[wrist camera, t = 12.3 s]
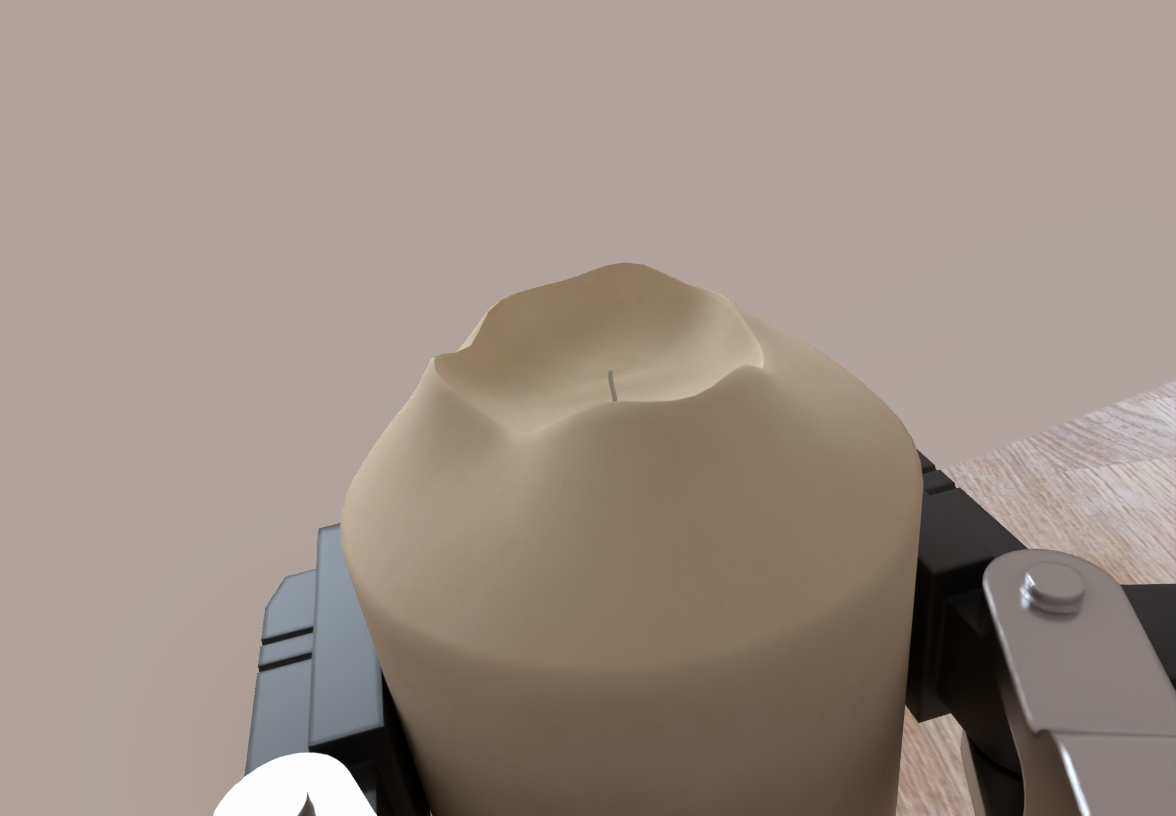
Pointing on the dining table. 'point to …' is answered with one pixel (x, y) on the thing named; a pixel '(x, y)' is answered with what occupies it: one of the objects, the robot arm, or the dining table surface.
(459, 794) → the candle
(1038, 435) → the dining table surface
